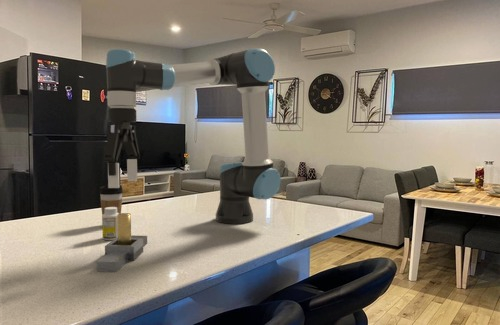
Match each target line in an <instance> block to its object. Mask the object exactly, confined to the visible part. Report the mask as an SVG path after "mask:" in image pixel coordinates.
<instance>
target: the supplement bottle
mask: <svg viewBox="0 0 500 325" xmlns="http://www.w3.org/2000/svg"><path fill="white" fill-rule="evenodd" d="M104 213H105V214H103V215H102V214H101V215H102V216H101V221H102V222H101V225H102V230H101V231H102V239H103V240H105V241H113V240H114V239H116V238H118V224H117V215H118V214H119V213H117V207H107V208H105V209H104Z"/></svg>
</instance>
